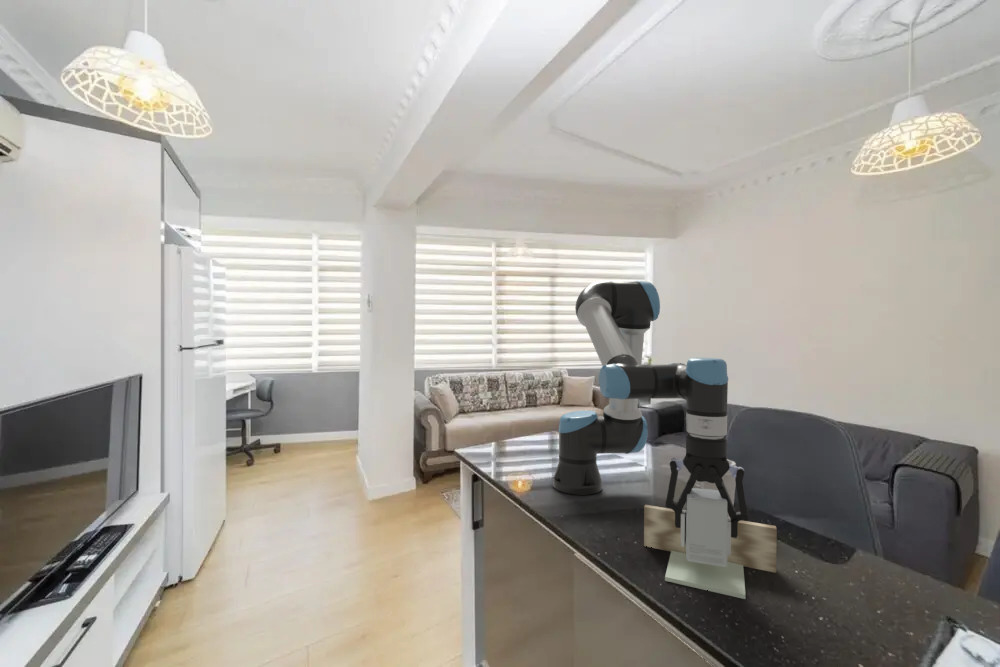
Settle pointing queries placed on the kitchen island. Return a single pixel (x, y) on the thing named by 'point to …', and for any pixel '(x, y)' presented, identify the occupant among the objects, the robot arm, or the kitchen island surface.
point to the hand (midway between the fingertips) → (705, 547)
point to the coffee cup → (728, 483)
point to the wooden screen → (747, 549)
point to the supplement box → (706, 527)
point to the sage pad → (706, 575)
